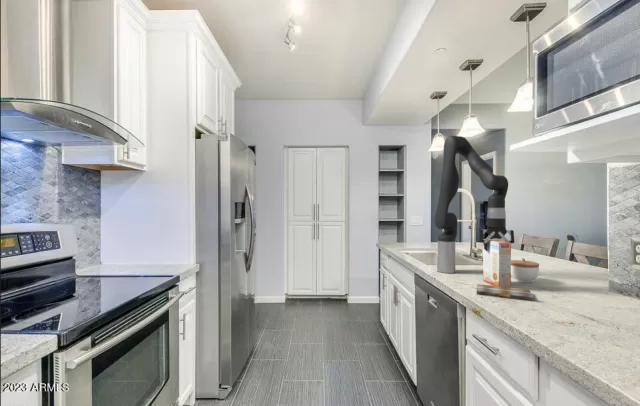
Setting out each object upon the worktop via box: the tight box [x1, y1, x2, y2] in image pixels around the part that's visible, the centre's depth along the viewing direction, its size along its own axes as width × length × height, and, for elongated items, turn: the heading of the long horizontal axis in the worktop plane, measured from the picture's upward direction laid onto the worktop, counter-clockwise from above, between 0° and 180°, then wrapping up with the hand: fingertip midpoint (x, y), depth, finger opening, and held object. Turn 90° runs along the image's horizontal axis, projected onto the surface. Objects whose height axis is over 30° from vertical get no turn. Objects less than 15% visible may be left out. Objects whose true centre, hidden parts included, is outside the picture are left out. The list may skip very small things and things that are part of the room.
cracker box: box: [482, 238, 512, 288], centre depth 146 cm, size 14×6×21 cm, turn 179°
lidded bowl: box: [511, 258, 540, 284], centre depth 153 cm, size 13×13×11 cm
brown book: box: [476, 283, 535, 302], centre depth 131 cm, size 20×12×3 cm, turn 62°
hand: (496, 251), depth 146 cm, fingers open, 8 cm apart
